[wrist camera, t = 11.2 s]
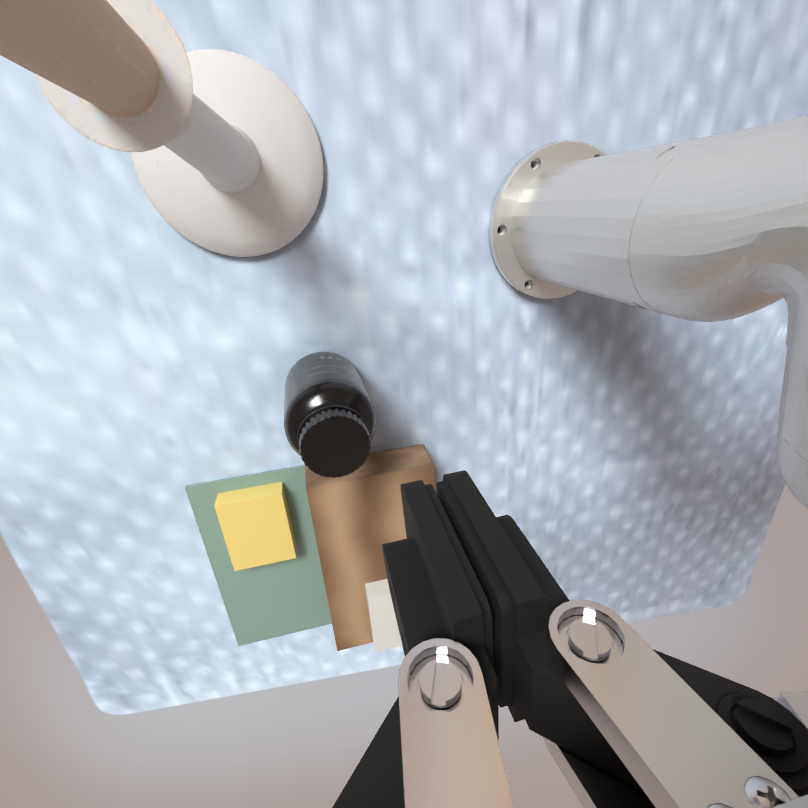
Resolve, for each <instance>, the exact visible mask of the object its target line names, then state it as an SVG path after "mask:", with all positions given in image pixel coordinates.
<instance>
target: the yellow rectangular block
mask: <svg viewBox="0 0 808 808" xmlns="http://www.w3.org/2000/svg"><path fill="white" fill-rule="evenodd" d="M214 507H215V510H216V513H217V516H218V520H219V523H220V526H221V529H222V533H223V536H224V539H225V542H226V545H227V549H228V552H229V555H230V558H231V562H232V565H233V568H234V571H238V570H243V569H247V568H252V567H257V566H261V565H266V564H271V563H276V562H280V561H285V560H290V559H294V558H296V541H295V537H294V532H293V528H292V523H291V519H290V514H289V510H288V505H287V501H286V496H285V492H284V487H283V482H278V483H272V484H267V485H261V486H255V487H250V488H244V489H239V490H233V491H228V492H222V493H218V494H217V498H216V502H215V505H214Z"/></svg>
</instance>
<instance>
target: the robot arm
mask: <svg viewBox="0 0 808 808" xmlns="http://www.w3.org/2000/svg"><path fill="white" fill-rule="evenodd" d="M531 162H532V163H533V167H532V168H531ZM498 227H499V228H500V232H499V233H498V232H497V230H498ZM489 239H490V248H491V252H492V255H493V259H494V262H495V264H496V266H497V268H498V270H499V272H500V274H501V275H502V276H503V277H504V278H505V280H506V281H507V282H508V283H509V284H510V285H511V286H513V287H514V288H515V289H517V290H518V291H520V292H523V293H525V294H527V295H530V296H533V297H536V298H543V299H553V298H561V297H564V296H567V295H570V294H573V293H575V292H577V291H582V292H586V293H589V294H593V295H597V296H600V297H604V298H607V299H611V300H614V301H618V302H622V303H625V304H629V305H632V306H636V307H640V308H643V309H647V310H650V311H654V312H658V313H662V314H666V315H669V316H673V317H677V318H681V319H685V320H690V321H699V322H715V321H724V320H730V319H734V318H737V317H741V316H744V315H747V314H750V313H752V312H755V311H757V310H760V309H762V308H764V307H766V306H768V305H770V304H772V303H774V302H776V301H779V300H780V299H782V298H785V301H786V303H787V308H788V324H787V337H786V346H787V353H786V362H785V370H784V379H783V387H782V395H781V404H780V412H779V420H778V433H777V457H778V463H779V468H780V471H781V474H782V477H783V479H784V481H785V483H786V484H787V486H788V488H789V489H790V491H791V492H792V494H793V495H794V496H795V497H796V498H797V499H798V500H799V501H800V502H801V503H802V504H803V505H804V506H805V507H807V508H808V115H807V116H803V117H799V118H795V119H791V120H786V121H781V122H777V123H772V124H767V125H763V126H758V127H753V128H748V129H742V130H737V131H732V132H727V133H721V134H716V135H712V136H708V137H703V138H697V139H692V140H686V141H681V142H675V143H670V144H664V145H659V146H653V147H648V148H643V149H637V150H632V151H626V152H621V153H615V154H610V155H606V154H605V153H604V152H602V151H601V150H599V149H598V148H596V147H595V146H593V145H590V144H587V143H584V142H581V141H562V142H556V143H552V144H549V145H546V146H542V147H541V148H539V149H537V150H535V151H533V152H531V153H530V154H528V155H527V156H526V157H525V158H523V159H522V160H521V161H520V162H519V163H517V165H516V166H515V167H514V168H513V169H512V171H511V172H510V173H509V174H508V175H507V177H506V179H505V180H504V182H503V184H502V185H501V187H500V189H499V191H498V193H497V196H496V198H495V201H494V204H493V208H492V212H491V217H490V226H489ZM525 282H526V285H525ZM524 285H525V286H524ZM400 489H401V497H402V505H403V513H404V521H405V529H406V537H407V539H403V540H398V541H394V542H390V543H386V544H382V550H383V556H384V562H385V569H386V574H387V580H388V585H389V590H390V594H391V599H392V603H393V608H394V612H395V616H396V620H397V625H398V629H399V633H400V637H401V641H402V646H403V650H404V654H405V658H404V660H403V662H402V665H401V667H400V669H399V678H398V690H399V697H398V698H397V700H396V702H395V703H394V705H393V707H392V708H391V710H390V712H389V713H388V715H387V717H386V718H385V720H384V722H383V723H382V725H381V727H380V728H379V730H378V732H377V734H376V735H375V737H374V739H373V740H372V742H371V744H370V745H369V747H368V749H367V750H366V752H365V754H364V756H363V757H362V759H361V760H360V762H359V764H358V765H357V767H356V769H355V771H354V772H353V774H352V776H351V778H350V779H349V781H348V783H347V784H346V786H345V787H344V789H343V791H342V793H341V794H340V796H339V798H338V799H337V801H336V802H335V804H334V806H333V808H514V806H513V802H512V798H511V793H510V789H509V785H508V781H507V776H506V772H505V768H504V764H503V760H502V755H501V751H500V747H499V743H498V739H499V736H498V705H499V706H500V707H504V706H508V707H509V710H510V712H511V714H512V717H513V719H514V722H517V721H520V720H523V719H525V720H526V722H527V724H528V727H529V729H530V730H532V731H534V732H536V733H537V734H539V735H541V736H543V738H544V741H545V743H546V745H547V748H548V750H549V752H550V753H551V755H552V756H553V758H554V760H555V761H556V763H557V765H558V766H559V768H560V770H561V771H562V773H563V775H564V776H565V778H566V779H567V781H568V783H569V784H570V786H571V788H572V789H573V791H574V793H575V794H576V796H577V798H578V799H579V801H580V803H581V804H582V806H583V807H584V808H808V691H807V692H806V691H805V692H781V693H780V695H779V698H770V697H768V696H766V695H764V694H762V693H760V692H758V691H757V690H754V689H751V688H749V687H746V686H744V685H741V684H739V683H736V682H734V681H731V680H729V679H726V678H723V677H721V676H719V675H716V674H714V673H711V672H709V671H706V670H704V669H701V668H699V667H696V666H693V665H691V664H688V663H686V662H684V661H681V660H679V659H676V658H673V657H671V656H668V655H666V654H663V653H661V652H658V651H656V650H653V649H652V648H651V647H650V646H649V645H648V644H647V643H646V642H645V641H644V640H643V639H642V638H641V637H640V636H639V635H638V634H637V633H636V632H635V631H634V630H633V629H632V628H631V627H630V626H629V625H628V624H627V623H626V622H625V621H624V620H623V619H622V618H621V617H620V616H618V615H617V614H616V613H615V612H613V611H612V610H611V609H609V608H607V607H605V606H603V605H601V604H599V603H595V602H591V601H587V600H572V601H569V599H568V598H567V597H566V595H565V594H564V592H563V591H562V589H561V588H560V586H559V585H558V584H557V582H556V581H555V579H554V578H553V576H552V575H551V573H550V572H549V570H548V569H547V568H546V566H545V565H544V563H543V562H542V560H541V559H540V557H539V556H538V555H537V553H536V552H535V550H534V549H533V547H532V546H531V544H530V543H529V542H528V540H527V539H526V537H525V536H524V534H523V533H522V531H521V530H520V528H519V527H518V526H517V524H516V523H515V521H514V520H513V519H512V518H511V517H510V516H509V515H504V516H500V517H495V515H494V514H493V512H492V511H491V509H490V507H489V506H488V504H487V503H486V501H485V500H484V498H483V496H482V495H481V493H480V492H479V490H478V489H477V487H476V485H475V484H474V482H473V481H472V479H471V478H470V476H469V475H468V473H467V472H466V471H459V472H455V473H450V474H445V475H444V476H443V481H441V482H437V494H436V491H435V489H434V487H433V485H432V484H427V485H425V484H424V482H423V480H418V481H413V482H408V483H404V484H401V485H400Z"/></svg>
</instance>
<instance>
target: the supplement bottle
mask: <svg viewBox="0 0 808 808" xmlns="http://www.w3.org/2000/svg"><path fill="white" fill-rule="evenodd" d="M375 427H376V415H375V411H374V407H373V405H372V402H371V400H370V398H369V395H368V393H367V391H366V389H365V386H364V384H363V382H362V379H361V377H360V375H359V373H358V371H357V370H356V368H355V367H354V366H353V364H352V363H351V362H350V361H348V360H347V359H346V358H344V357H342V356H340V355H338V354H335V353H330V352H318V353H313V354H310V355H307V356H305V357H303V358H302V359H300V360H299V361H298V362H297V363H296V364H295V365H294V366H293V367H292V369H291V370H290V372H289V374H288V376H287V380H286V385H285V407H284V428H285V434H286V437H287V440H288V442H289V444H290V445H291V447H292V448H293V449H294V450H295V451H296V452H297V453H298V454H299V455H300V456H301V458H302V460H303V461H304V463H305V465H306V466H307V467H308V468H309V470H311V471H313V472H314V473H315V474H319V475H320V476H325V477H327V478H329V477H332V478H336V477H342V476H347V475H349V474H350V473H353V472H354V471H355V470H358V469H359V468H360V466H362V465H363V464H364V461H366V460H367V456H368V455H369V454H370V452H369V450H370V448H371V446H370V442H371V439H372V437H373V435H374V432H375Z"/></svg>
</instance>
